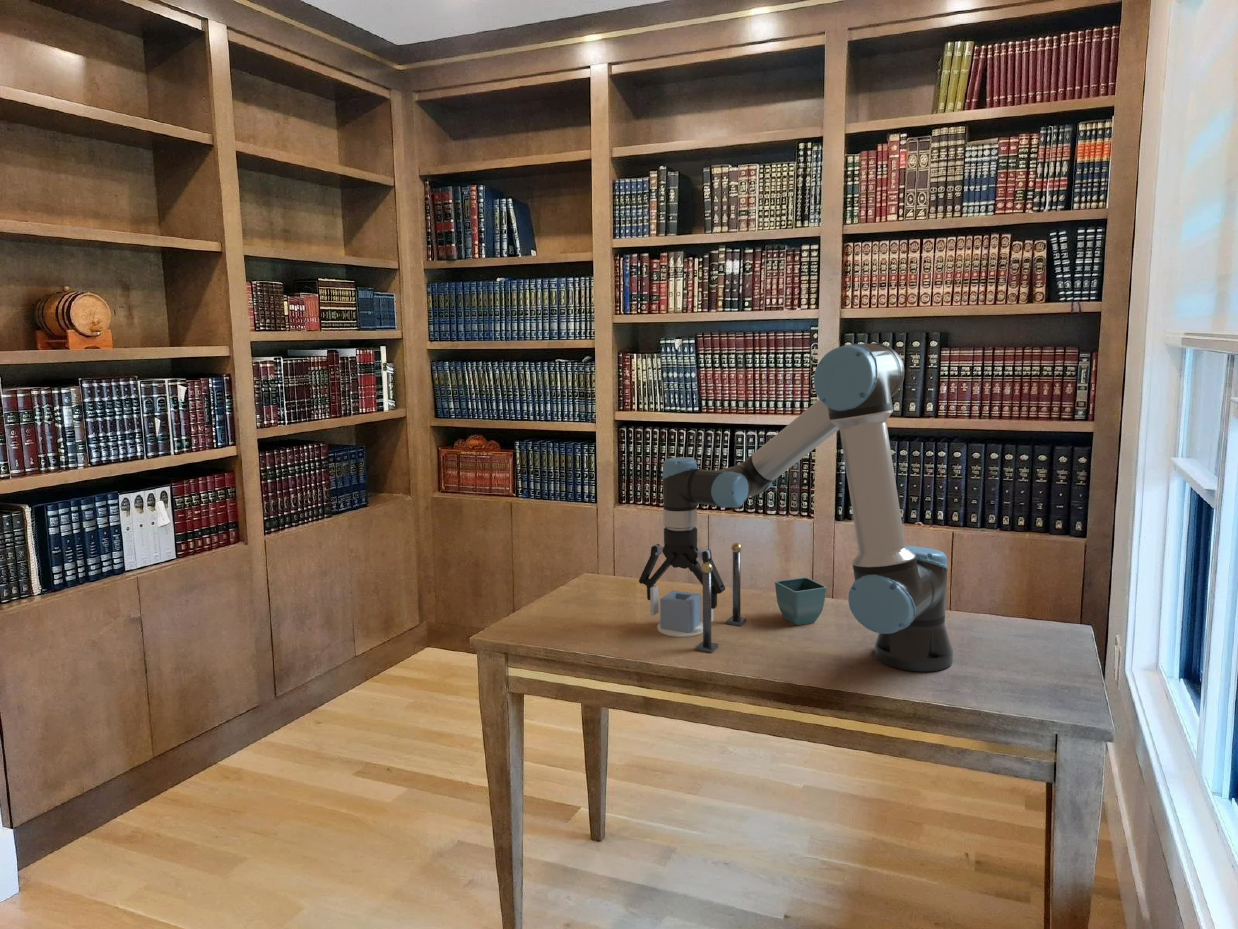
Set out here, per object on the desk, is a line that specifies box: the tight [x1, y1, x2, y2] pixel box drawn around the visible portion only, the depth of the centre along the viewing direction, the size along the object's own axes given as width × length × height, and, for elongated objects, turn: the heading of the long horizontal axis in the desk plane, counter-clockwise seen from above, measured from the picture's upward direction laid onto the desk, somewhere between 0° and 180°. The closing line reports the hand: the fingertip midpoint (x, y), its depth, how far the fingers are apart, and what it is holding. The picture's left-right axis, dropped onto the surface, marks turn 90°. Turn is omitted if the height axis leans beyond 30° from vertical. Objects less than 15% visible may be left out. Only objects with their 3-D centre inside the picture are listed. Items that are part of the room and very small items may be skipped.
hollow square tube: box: [659, 590, 702, 633], centre depth 193 cm, size 7×7×7 cm
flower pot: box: [774, 576, 828, 626], centre depth 196 cm, size 9×9×9 cm
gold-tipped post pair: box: [695, 542, 748, 654], centre depth 188 cm, size 4×22×19 cm, turn 152°
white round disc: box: [656, 621, 703, 638], centre depth 194 cm, size 11×11×1 cm
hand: (681, 618), depth 193 cm, fingers open, 13 cm apart
